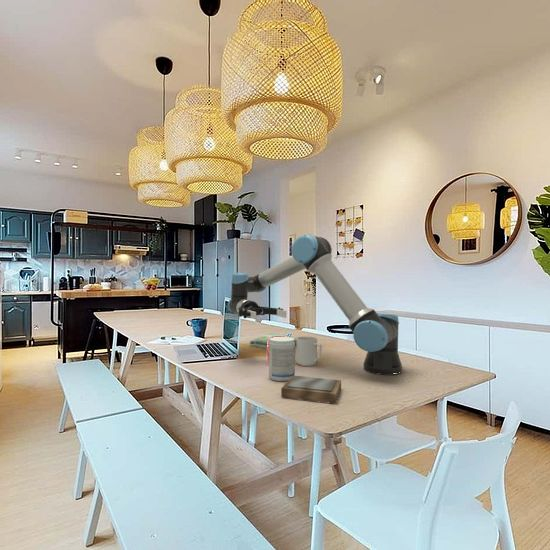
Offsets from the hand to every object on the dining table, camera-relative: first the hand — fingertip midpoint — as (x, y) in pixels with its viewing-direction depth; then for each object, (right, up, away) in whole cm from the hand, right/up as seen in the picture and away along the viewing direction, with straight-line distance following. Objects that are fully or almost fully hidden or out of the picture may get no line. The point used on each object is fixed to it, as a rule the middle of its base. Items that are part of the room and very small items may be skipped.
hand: (270, 314), depth 146 cm
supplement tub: (+4, -23, -8) cm, 25 cm away
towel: (+2, -22, +52) cm, 57 cm away
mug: (+16, -23, +12) cm, 31 cm away
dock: (+14, -23, -24) cm, 36 cm away
